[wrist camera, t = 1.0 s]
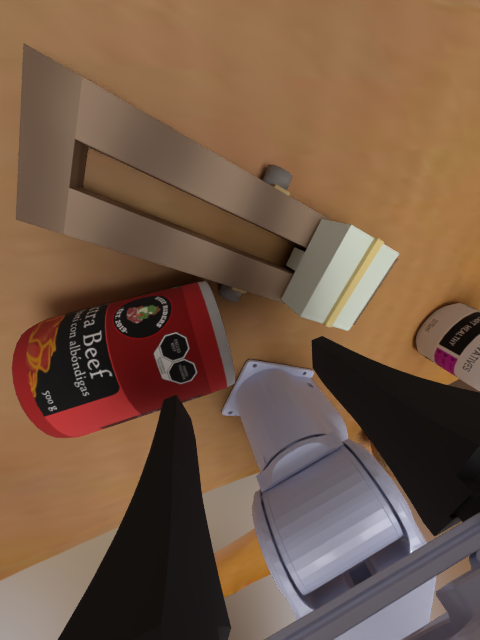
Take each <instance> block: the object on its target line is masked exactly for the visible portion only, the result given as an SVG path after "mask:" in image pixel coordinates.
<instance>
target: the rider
mask: <svg viewBox="0 0 480 640" xmlns="http://www.w3.org/2000/svg"><path fill="white" fill-rule="evenodd" d="M383 243H384V242H383V241H382V240H380V239H378V238H373V237H371V236H369V235H368V234H366V233H364V232H363V231H361V230H359V229H358V228H356V227H354V226H353V225H350V224H345V223H339V222H334V221H329V220H323V219H321V221H320V223H319V225H318V227H317V229H316V231H315V233H314V235H313V237H312V239H311V241H310V243H309V245H308V247H307V249H306V251H305V252H304V251H302V250H299V249H297V248H295V247H294V249H293V251H292V253H291V255H290V258H289V260H288V262H287V264H286V266H288V267H290V268H291V269H293V270H295V273H294V275H293V277H292V279H291V281H290V283H289V285H288V287H287V289H286V291H285V293H284V295H283V297H282V299H281V300H282V301H283V302H284V303H285V304H286V305H288V306H289V307H290V308H291V309H292V310H293V311H294V312H295V313H296V314H298V315H299V316H300V317H302V318H306V319H309V320H313V321H316V322H320V323H323V325H324V326H326V327H330V328H331V327H332V326H333V327H337V328H340V329H344V330H347V331H349V329H350V328H351V326H352V325H353V323H354V322H355V320H356V319H357V317H358V316H359V314H360V313H361V311H362V309H363V308H364V306H365V305H366V303H367V302H368V300H369V299H370V297H371V296H372V294H373V293H374V291H375V290H376V288H377V287H378V285H379V284H380V282H381V281H382V279H383V278H384V276H385V274H386V273H387V271H388V270H389V268H390V267H391V265H392V264H393V262H394V261H395V259H396V258H397V256H398V255H399V253H398V252H396V251H394V250H393V249H391V248H389V247H388V246H386V245H384V244H383Z"/></svg>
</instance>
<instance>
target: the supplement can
mask: <svg viewBox="0 0 480 640" xmlns="http://www.w3.org/2000/svg"><path fill="white" fill-rule="evenodd" d="M416 345H417V351H418V352H419V353H420V354H421V355H423V356H424V357H426V358H428V359H429V360H431V361H432V362H434V363H435V364H437V365H439V366H440V367H442V368H443V369H445V370H447V371H448V372H450V373H451V374H453V375H454V376H456V377H458V378H459V379H461V380H462V381H464V382H466V383H467V384H469V385H470V386H472V387H474V388H475V389H477V390H478V391H480V310H478V309H475V308H472V307H470V306H467V305H464V304H462V303H457V304H452V305H448V306H444V307H442V308H440V309H438V310H436V311H435V312H434V313H433V314H432V315H430V316H429V317H428V318H427V319H426V321H425V322H424V323H423V324H422V326H421V327H420V329H419V331H418V333H417V336H416Z"/></svg>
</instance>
